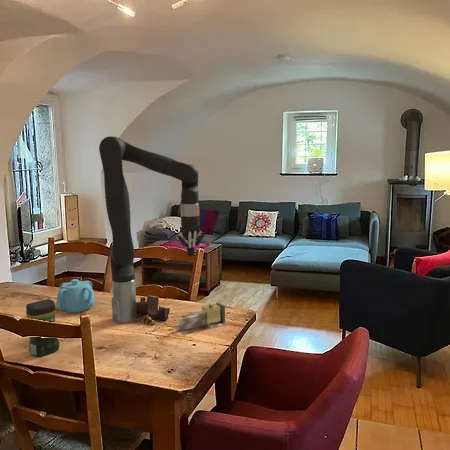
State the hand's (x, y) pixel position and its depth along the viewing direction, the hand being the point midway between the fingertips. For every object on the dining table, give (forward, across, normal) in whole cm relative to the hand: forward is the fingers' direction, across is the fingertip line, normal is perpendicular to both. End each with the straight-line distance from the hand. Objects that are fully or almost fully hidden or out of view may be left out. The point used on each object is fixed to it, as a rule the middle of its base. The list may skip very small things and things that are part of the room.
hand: (190, 256), depth 190 cm
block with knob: (+25, -3, +11) cm, 27 cm away
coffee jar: (+27, +59, 0) cm, 65 cm away
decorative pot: (+27, +38, -38) cm, 60 cm away
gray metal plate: (+27, -5, 0) cm, 27 cm away
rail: (+27, +2, +11) cm, 29 cm away
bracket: (+27, +13, -9) cm, 32 cm away
